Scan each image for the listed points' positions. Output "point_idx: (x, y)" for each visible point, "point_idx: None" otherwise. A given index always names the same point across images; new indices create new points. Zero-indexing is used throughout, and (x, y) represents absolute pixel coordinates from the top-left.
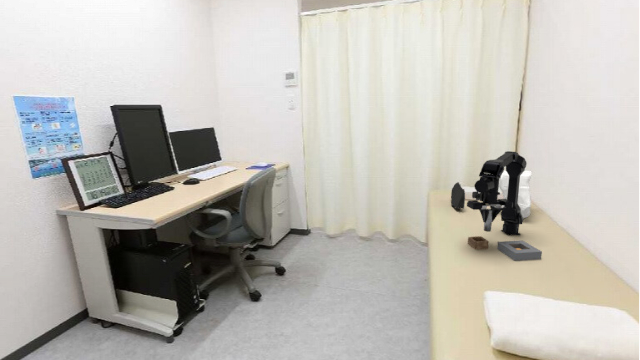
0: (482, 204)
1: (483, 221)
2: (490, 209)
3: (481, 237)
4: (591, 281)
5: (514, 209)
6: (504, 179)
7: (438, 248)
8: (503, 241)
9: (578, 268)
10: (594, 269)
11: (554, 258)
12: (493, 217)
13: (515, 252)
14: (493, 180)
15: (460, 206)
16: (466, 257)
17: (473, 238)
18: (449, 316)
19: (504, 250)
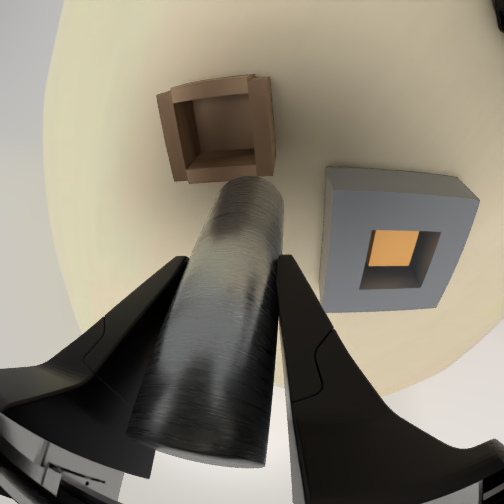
0: (52, 495)
1: (174, 263)
2: (224, 459)
3: (255, 101)
4: (414, 359)
5: None
6: None
7: (50, 148)
8: (373, 192)
9: (458, 320)
10: (479, 323)
11: (472, 272)
12: (282, 356)
13: (327, 308)
14: None
15: None
16: (137, 229)
17: (195, 98)
18: None
19: (326, 238)
